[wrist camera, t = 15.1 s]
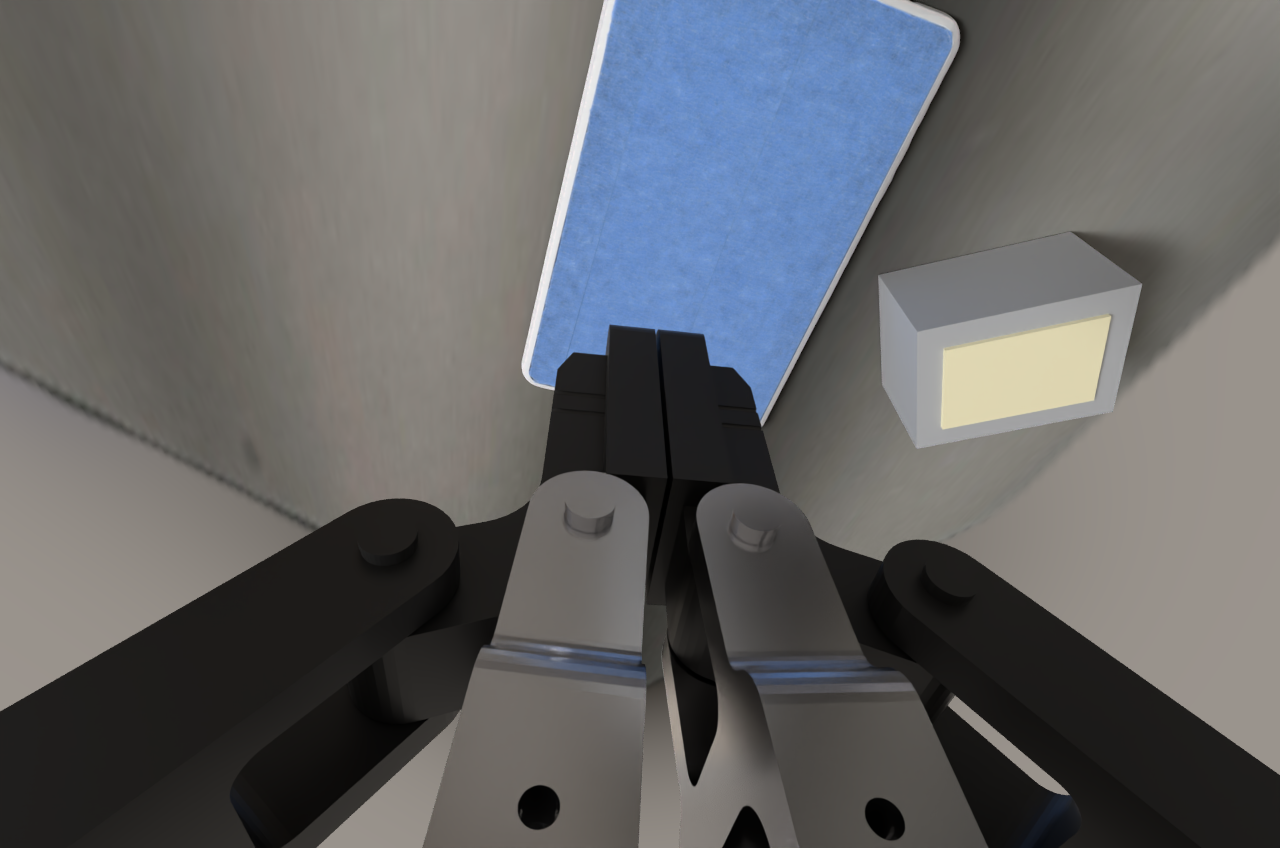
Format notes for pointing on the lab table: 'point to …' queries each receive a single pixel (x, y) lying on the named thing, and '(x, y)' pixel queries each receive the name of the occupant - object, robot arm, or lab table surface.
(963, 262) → the block
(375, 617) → the robot arm
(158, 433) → the lab table surface
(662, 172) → the tablet computer
